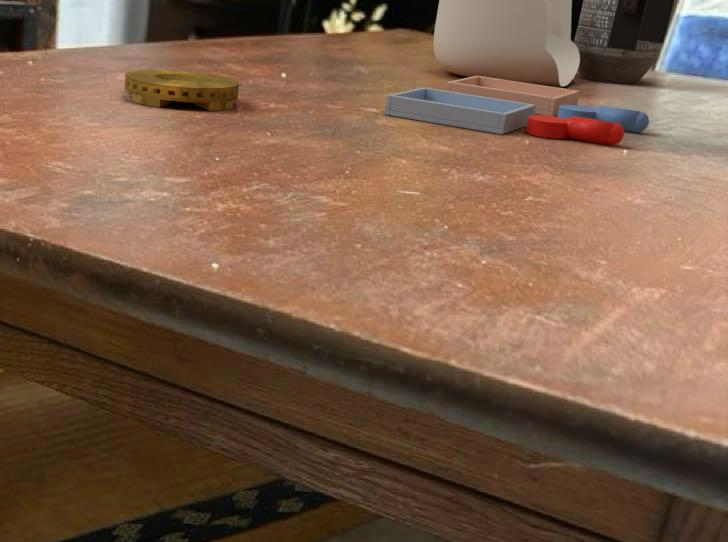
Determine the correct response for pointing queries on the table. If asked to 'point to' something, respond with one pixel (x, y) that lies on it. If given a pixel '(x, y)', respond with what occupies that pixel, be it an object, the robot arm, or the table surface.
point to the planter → (607, 60)
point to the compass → (181, 88)
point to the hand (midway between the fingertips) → (636, 45)
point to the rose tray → (517, 93)
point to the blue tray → (460, 110)
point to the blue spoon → (608, 116)
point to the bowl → (507, 40)
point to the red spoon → (575, 129)
